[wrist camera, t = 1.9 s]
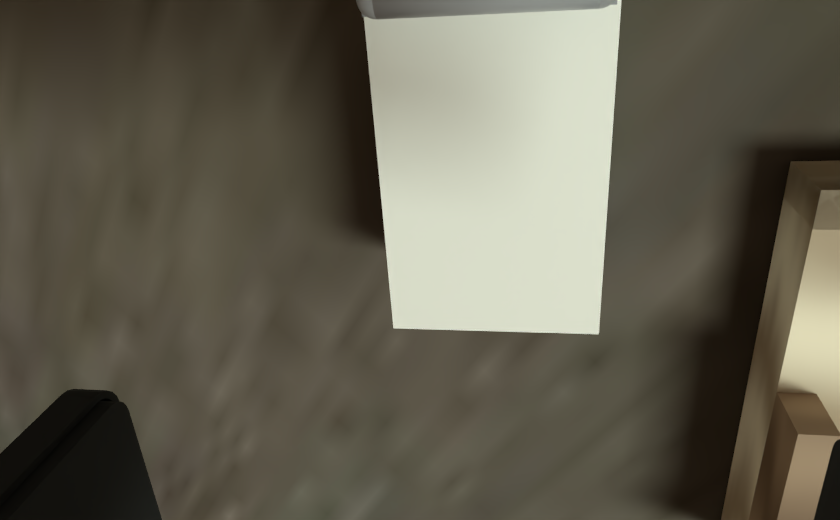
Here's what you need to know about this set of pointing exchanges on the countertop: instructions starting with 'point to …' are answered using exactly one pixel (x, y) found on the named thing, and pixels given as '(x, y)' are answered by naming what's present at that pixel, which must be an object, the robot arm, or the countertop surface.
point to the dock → (793, 359)
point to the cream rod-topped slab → (494, 159)
